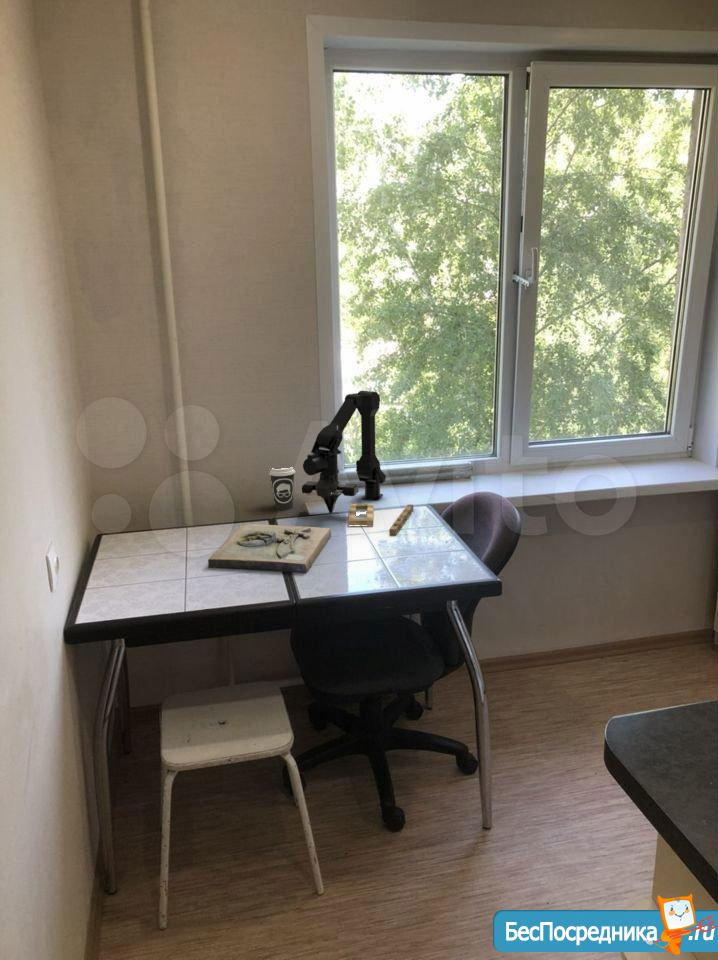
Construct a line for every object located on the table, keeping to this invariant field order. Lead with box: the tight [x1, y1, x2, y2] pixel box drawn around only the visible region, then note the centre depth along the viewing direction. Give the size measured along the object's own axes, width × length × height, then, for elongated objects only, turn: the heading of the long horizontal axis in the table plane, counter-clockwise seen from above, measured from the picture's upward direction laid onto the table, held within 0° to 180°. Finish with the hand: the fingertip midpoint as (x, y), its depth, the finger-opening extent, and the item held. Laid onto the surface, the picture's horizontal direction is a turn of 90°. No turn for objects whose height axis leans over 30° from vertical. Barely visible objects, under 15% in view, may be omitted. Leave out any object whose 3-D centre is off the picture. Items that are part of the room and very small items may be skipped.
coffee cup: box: [268, 466, 296, 511], centre depth 260 cm, size 10×10×15 cm
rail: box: [388, 504, 414, 536], centre depth 243 cm, size 26×2×3 cm, turn 163°
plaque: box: [207, 523, 332, 574], centre depth 220 cm, size 30×7×30 cm
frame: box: [348, 503, 374, 526], centre depth 249 cm, size 18×8×2 cm, turn 178°
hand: (330, 512), depth 252 cm, fingers closed
